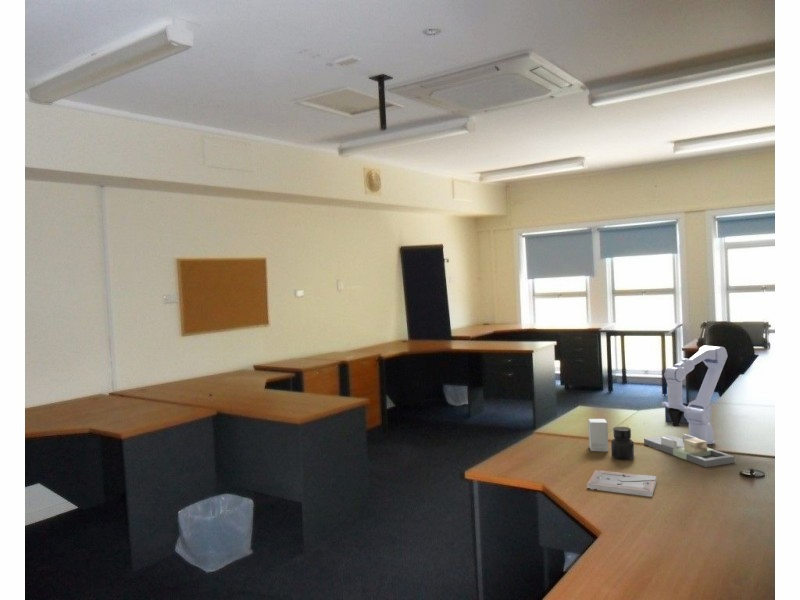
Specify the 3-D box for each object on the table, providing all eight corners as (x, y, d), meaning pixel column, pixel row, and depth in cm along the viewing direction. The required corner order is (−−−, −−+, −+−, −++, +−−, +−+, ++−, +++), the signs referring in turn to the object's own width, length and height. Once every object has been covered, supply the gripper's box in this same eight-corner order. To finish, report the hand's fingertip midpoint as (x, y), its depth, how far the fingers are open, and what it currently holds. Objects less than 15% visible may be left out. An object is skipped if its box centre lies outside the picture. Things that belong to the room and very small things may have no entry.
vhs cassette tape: (706, 424, 297) (705, 404, 296) (705, 425, 294) (705, 405, 294) (666, 420, 307) (665, 401, 306) (665, 422, 304) (664, 402, 304)
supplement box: (608, 451, 259) (607, 422, 258) (590, 451, 260) (589, 422, 260) (606, 446, 266) (605, 418, 266) (588, 446, 268) (587, 418, 267)
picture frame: (656, 482, 220) (595, 475, 231) (656, 476, 220) (595, 469, 231) (651, 498, 206) (587, 490, 216) (651, 491, 206) (586, 483, 216)
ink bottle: (634, 454, 253) (634, 426, 252) (635, 461, 245) (635, 431, 244) (610, 453, 256) (609, 425, 256) (610, 459, 248) (609, 430, 247)
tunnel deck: (670, 440, 271) (669, 428, 271) (734, 462, 237) (734, 448, 237) (644, 444, 268) (643, 431, 267) (705, 467, 233) (705, 453, 233)
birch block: (696, 447, 251) (695, 437, 251) (707, 451, 245) (706, 441, 245) (684, 449, 249) (683, 439, 249) (695, 453, 244) (694, 443, 243)
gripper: (655, 392, 265) (656, 423, 266) (680, 398, 252) (681, 431, 252) (668, 391, 267) (669, 421, 268) (693, 397, 254) (694, 428, 254)
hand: (676, 426), depth 260 cm, fingers closed
